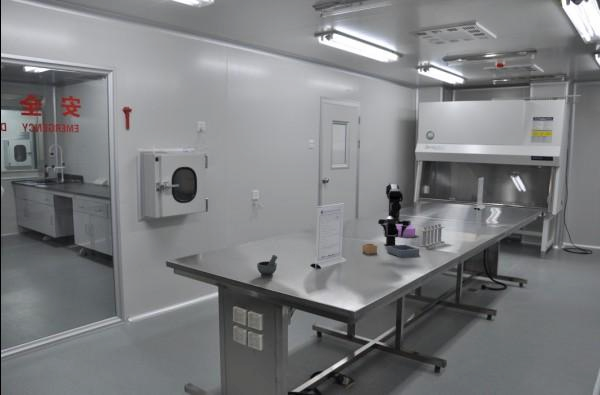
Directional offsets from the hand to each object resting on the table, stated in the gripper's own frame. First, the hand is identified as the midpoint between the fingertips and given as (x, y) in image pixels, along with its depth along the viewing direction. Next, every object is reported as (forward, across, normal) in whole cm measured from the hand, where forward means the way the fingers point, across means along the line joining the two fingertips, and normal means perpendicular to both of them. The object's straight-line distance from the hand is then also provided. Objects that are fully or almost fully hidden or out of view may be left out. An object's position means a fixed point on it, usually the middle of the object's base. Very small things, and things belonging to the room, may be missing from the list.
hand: (394, 236), depth 282 cm
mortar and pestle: (+16, -43, -76) cm, 89 cm away
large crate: (+12, +3, +9) cm, 15 cm away
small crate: (+12, -16, +2) cm, 20 cm away
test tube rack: (+10, +13, +48) cm, 51 cm away
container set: (+7, -17, +71) cm, 74 cm away
